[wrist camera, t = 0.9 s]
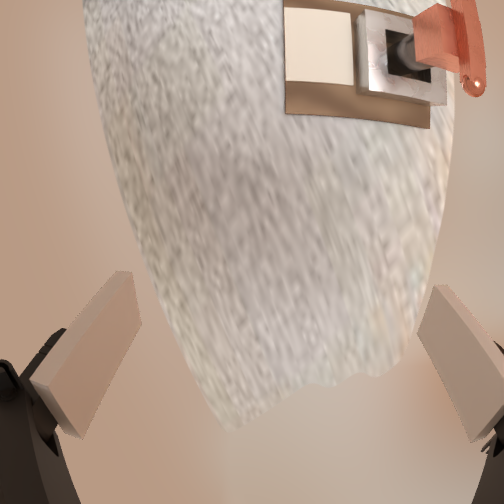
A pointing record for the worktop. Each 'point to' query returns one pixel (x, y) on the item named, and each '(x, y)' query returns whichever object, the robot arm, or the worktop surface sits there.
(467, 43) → the copper link bar
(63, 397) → the robot arm
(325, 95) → the board
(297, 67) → the mat
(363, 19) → the eye block
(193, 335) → the worktop surface
